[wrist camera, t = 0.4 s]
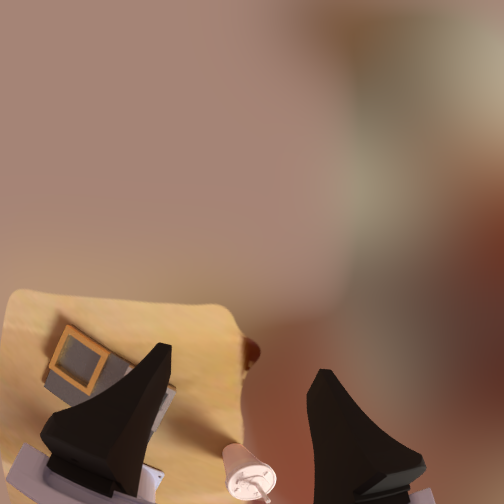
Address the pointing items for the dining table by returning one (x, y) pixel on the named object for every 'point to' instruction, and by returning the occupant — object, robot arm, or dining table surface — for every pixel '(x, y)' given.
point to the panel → (90, 371)
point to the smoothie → (246, 474)
